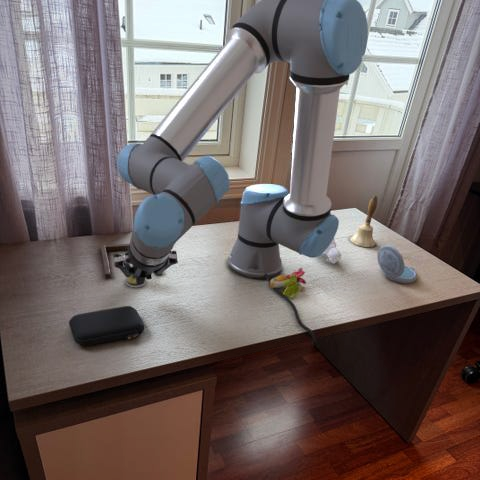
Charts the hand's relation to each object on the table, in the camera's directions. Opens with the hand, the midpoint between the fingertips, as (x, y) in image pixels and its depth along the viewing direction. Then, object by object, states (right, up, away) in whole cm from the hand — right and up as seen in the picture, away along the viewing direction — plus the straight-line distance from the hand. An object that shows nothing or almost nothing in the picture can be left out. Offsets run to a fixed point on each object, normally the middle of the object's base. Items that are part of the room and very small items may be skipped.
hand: (139, 278), depth 105 cm
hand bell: (+65, +17, +46) cm, 81 cm away
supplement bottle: (-3, 0, +9) cm, 10 cm away
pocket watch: (+71, +3, +28) cm, 76 cm away
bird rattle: (+34, -1, +11) cm, 35 cm away
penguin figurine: (+50, +10, +33) cm, 61 cm away
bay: (-7, +7, +18) cm, 20 cm away
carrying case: (-5, -12, -8) cm, 16 cm away
